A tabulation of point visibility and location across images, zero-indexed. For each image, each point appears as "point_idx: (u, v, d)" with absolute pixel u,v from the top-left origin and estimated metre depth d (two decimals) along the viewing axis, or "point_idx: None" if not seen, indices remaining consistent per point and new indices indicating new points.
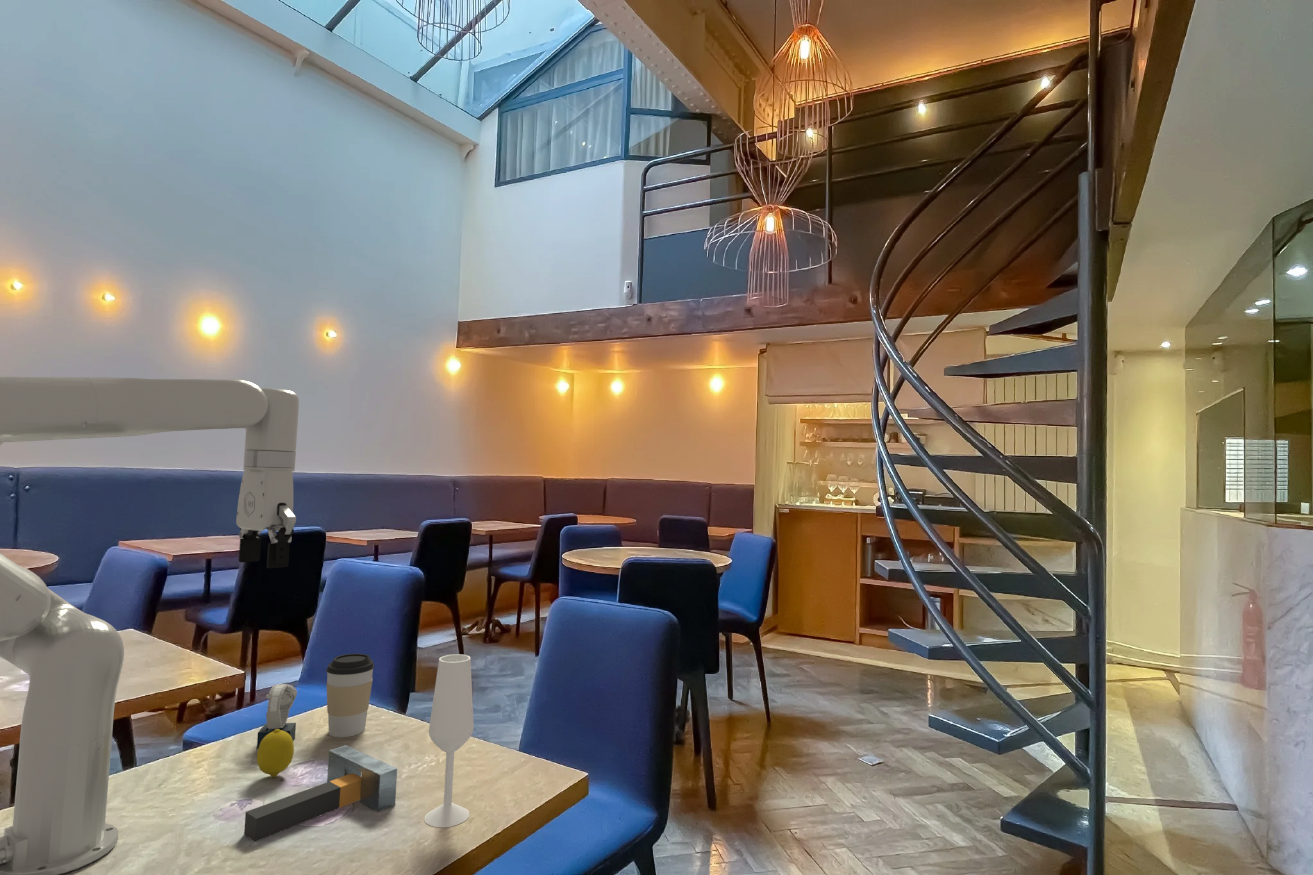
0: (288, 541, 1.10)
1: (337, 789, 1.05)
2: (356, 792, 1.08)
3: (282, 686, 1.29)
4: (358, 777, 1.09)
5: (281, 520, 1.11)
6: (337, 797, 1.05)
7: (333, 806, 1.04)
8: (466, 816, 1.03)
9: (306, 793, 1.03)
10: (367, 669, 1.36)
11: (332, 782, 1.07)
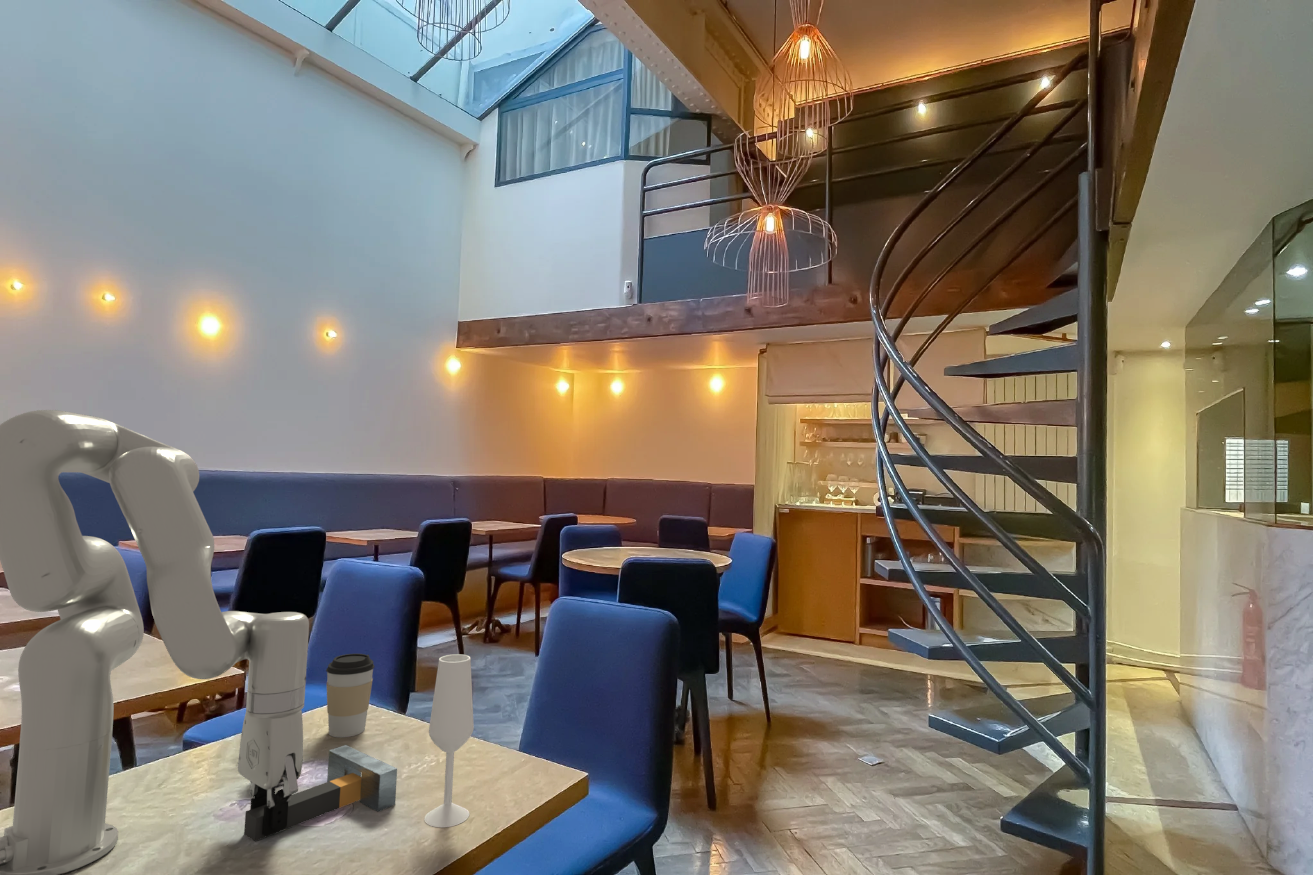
0: (286, 801, 0.97)
1: (337, 789, 1.05)
2: (356, 792, 1.08)
3: None
4: (358, 777, 1.09)
5: None
6: (337, 796, 1.05)
7: (333, 806, 1.04)
8: (466, 816, 1.03)
9: (306, 793, 1.03)
10: (367, 669, 1.36)
11: (332, 782, 1.07)
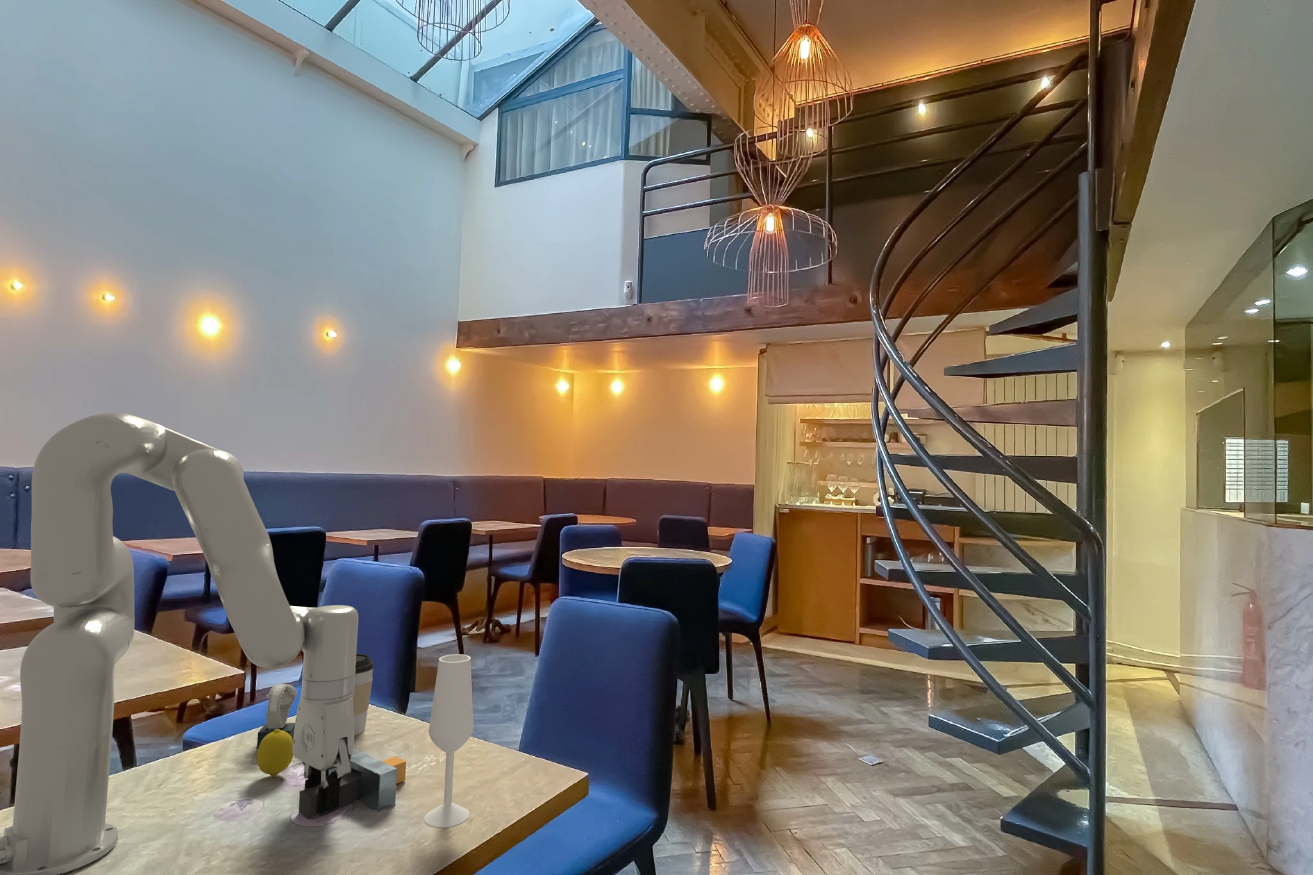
0: (339, 782, 1.04)
1: None
2: (399, 774, 1.14)
3: (282, 686, 1.29)
4: (400, 760, 1.15)
5: None
6: None
7: None
8: (466, 816, 1.03)
9: (354, 774, 1.09)
10: (367, 669, 1.36)
11: None
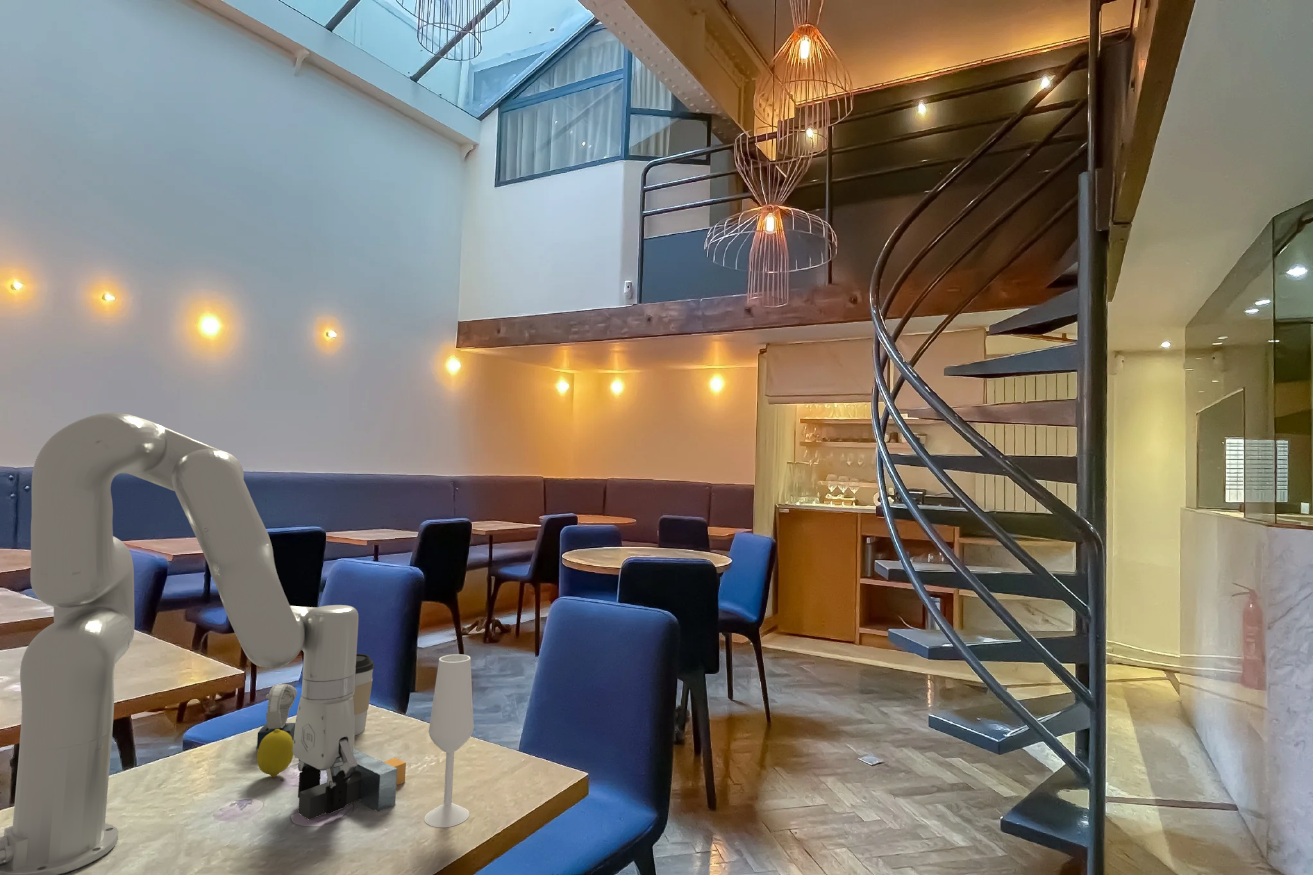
0: (346, 781, 1.03)
1: None
2: (399, 775, 1.14)
3: (282, 686, 1.29)
4: (400, 761, 1.15)
5: None
6: None
7: None
8: (466, 816, 1.03)
9: (354, 776, 1.09)
10: (367, 669, 1.36)
11: None
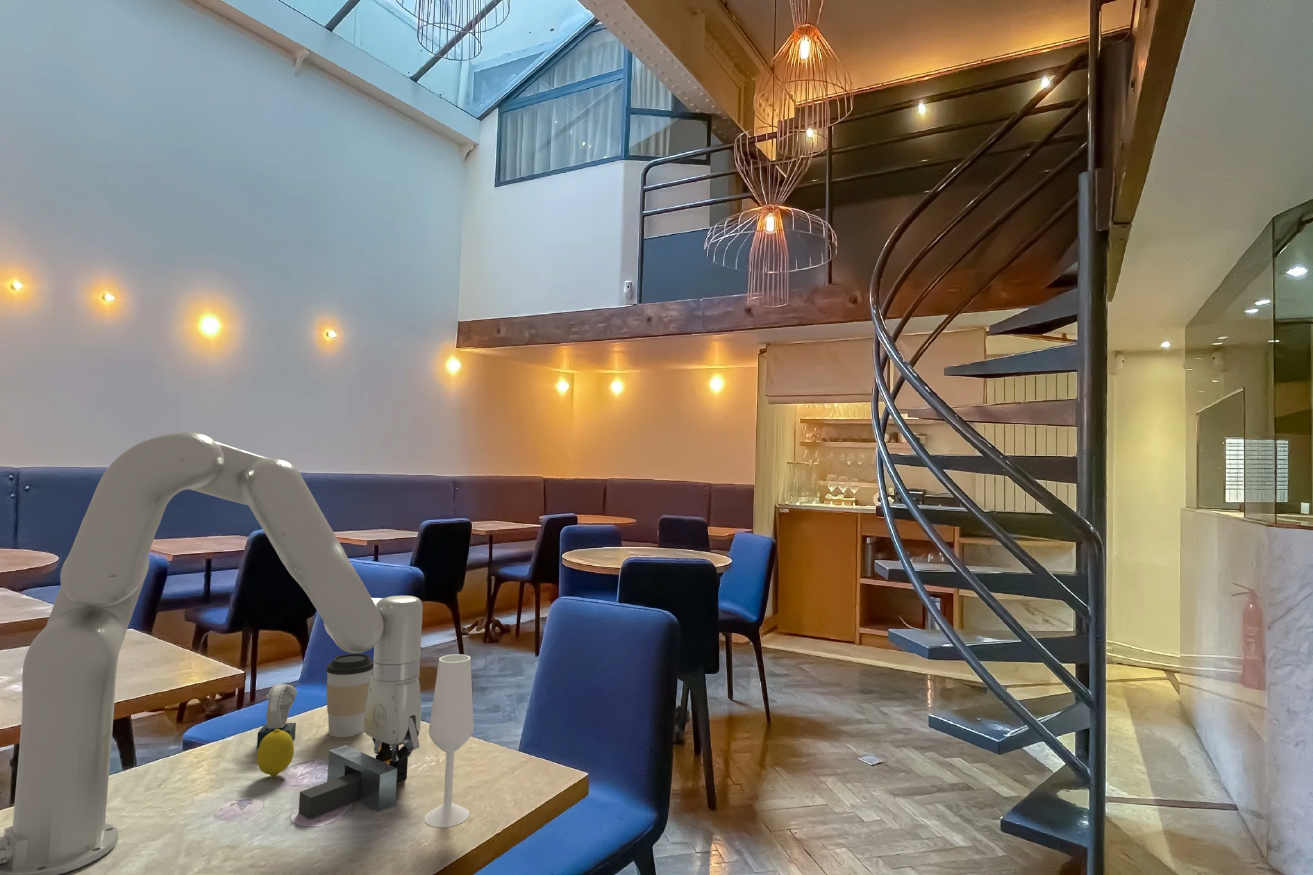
0: (407, 756, 1.14)
1: None
2: None
3: (282, 686, 1.29)
4: None
5: None
6: None
7: None
8: (466, 816, 1.03)
9: (354, 775, 1.09)
10: (367, 669, 1.36)
11: None
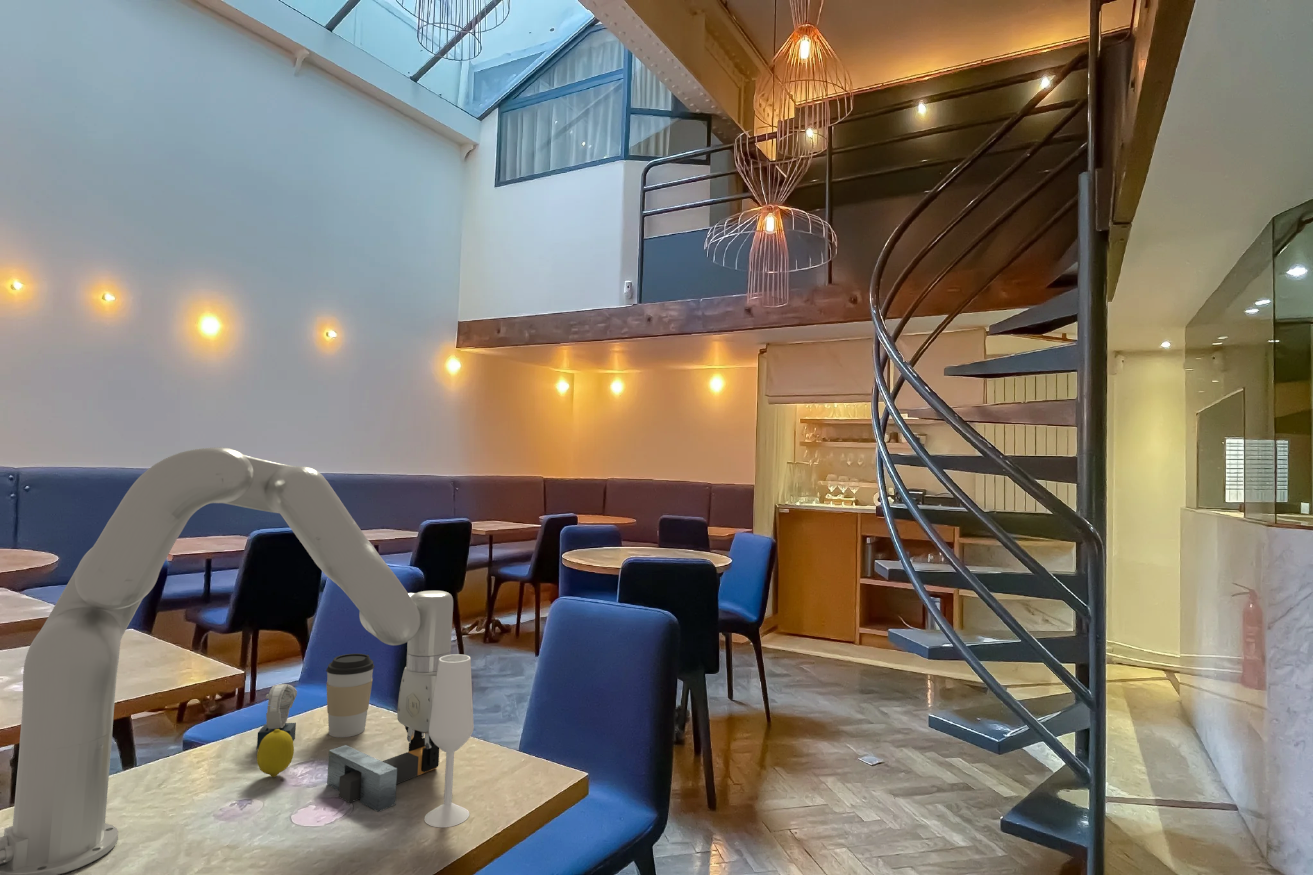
0: None
1: (416, 758, 1.17)
2: None
3: (282, 686, 1.29)
4: None
5: None
6: (416, 765, 1.17)
7: (412, 773, 1.16)
8: (466, 816, 1.03)
9: (389, 761, 1.15)
10: (367, 669, 1.36)
11: (410, 752, 1.19)
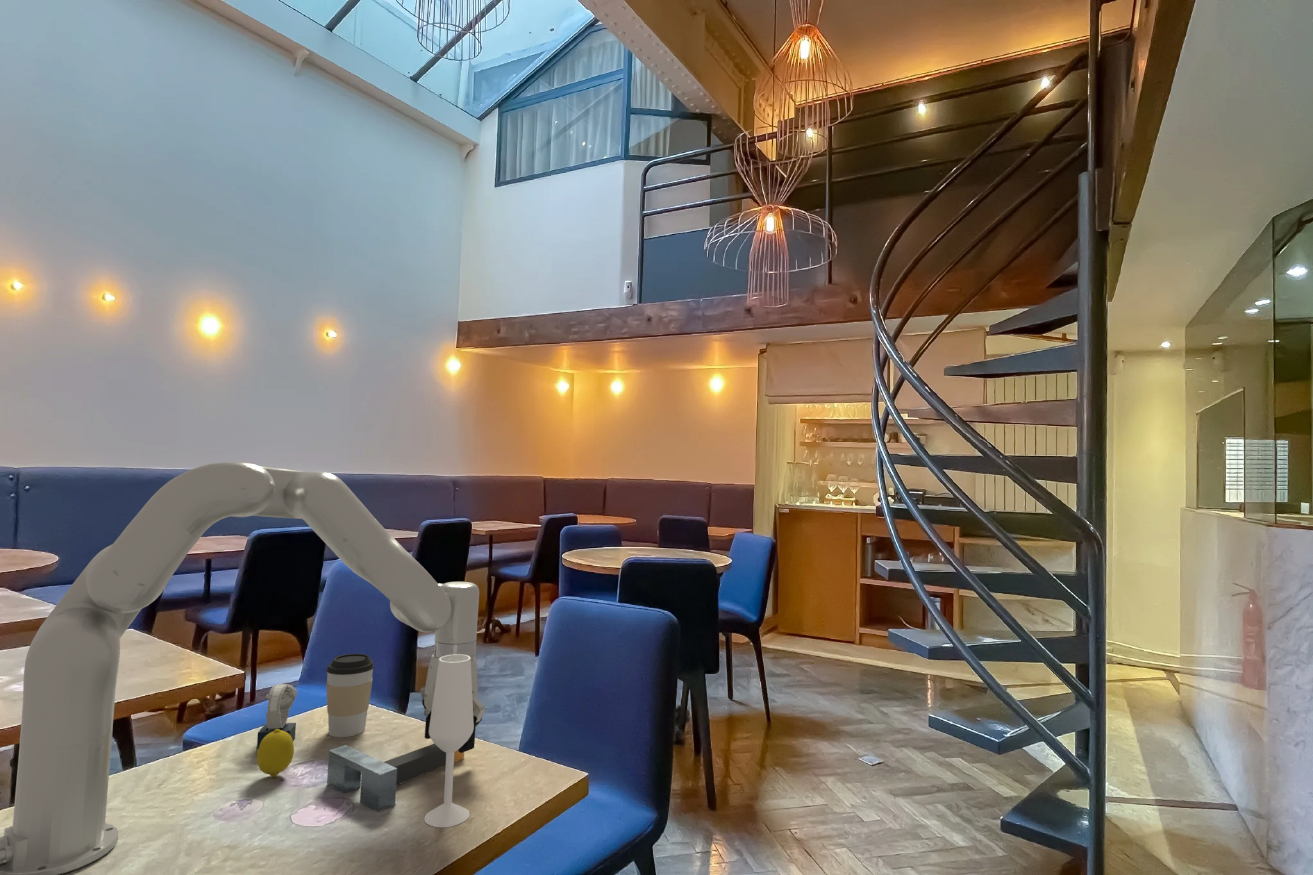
0: (475, 726, 1.22)
1: None
2: (459, 752, 1.24)
3: (282, 686, 1.29)
4: None
5: None
6: (444, 755, 1.22)
7: (441, 763, 1.21)
8: (466, 816, 1.03)
9: (420, 752, 1.20)
10: (367, 669, 1.36)
11: None
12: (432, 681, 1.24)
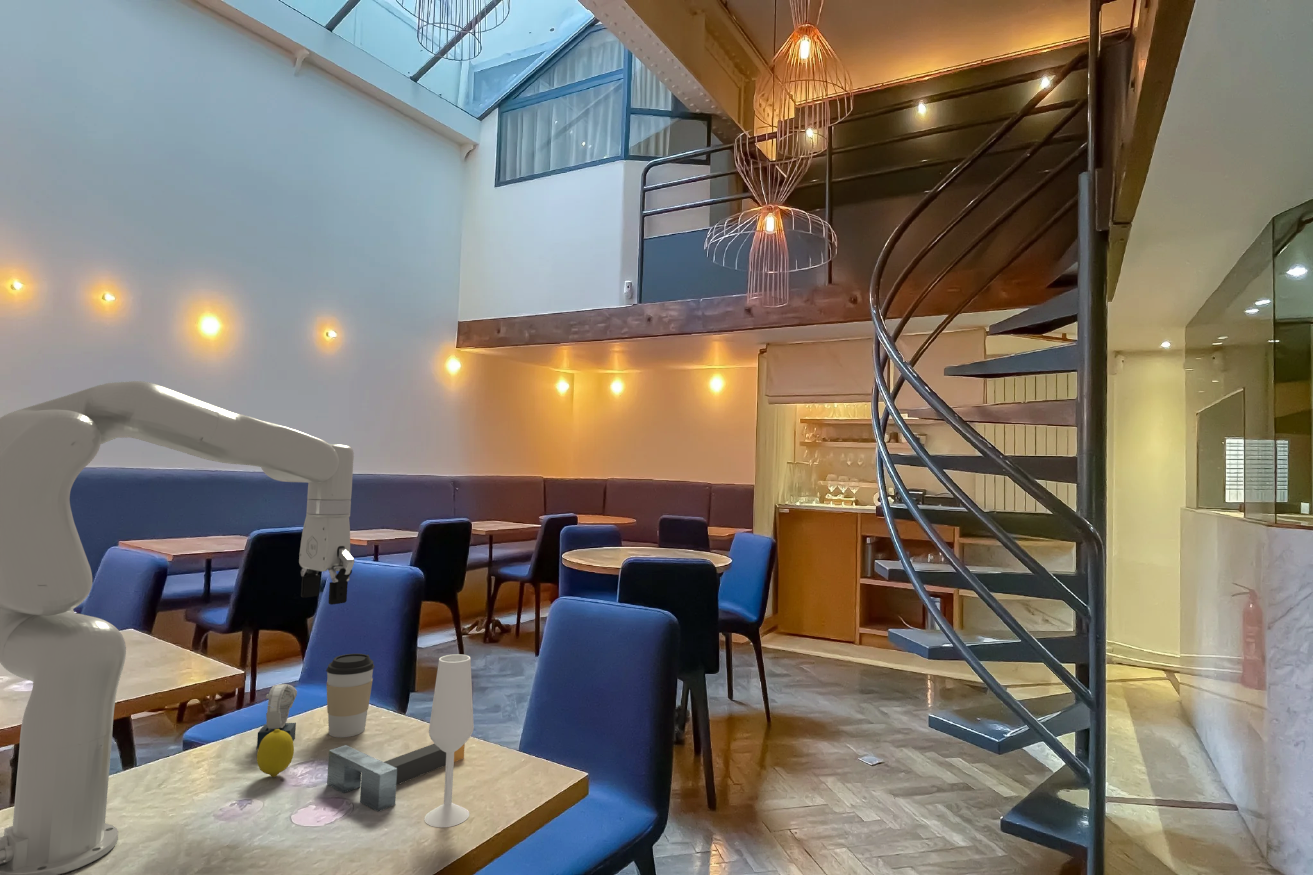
0: (346, 580, 1.24)
1: None
2: (459, 752, 1.24)
3: (282, 686, 1.29)
4: None
5: (340, 561, 1.26)
6: (444, 755, 1.22)
7: (441, 763, 1.21)
8: (466, 816, 1.03)
9: (420, 751, 1.20)
10: (367, 669, 1.36)
11: None
12: (305, 539, 1.26)
